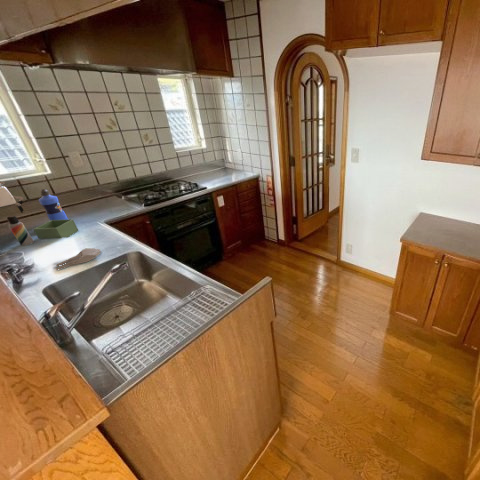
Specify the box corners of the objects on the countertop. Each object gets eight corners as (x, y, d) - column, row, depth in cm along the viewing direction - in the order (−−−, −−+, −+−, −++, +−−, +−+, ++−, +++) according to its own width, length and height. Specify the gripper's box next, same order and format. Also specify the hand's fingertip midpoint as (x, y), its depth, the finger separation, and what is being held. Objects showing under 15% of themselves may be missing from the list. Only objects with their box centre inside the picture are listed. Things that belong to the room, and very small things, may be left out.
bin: (62, 240, 165) (56, 228, 161) (40, 241, 165) (33, 229, 161) (78, 230, 177) (72, 219, 173) (57, 231, 177) (51, 220, 173)
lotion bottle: (21, 246, 159) (2, 216, 149) (34, 242, 163) (15, 213, 153) (23, 249, 156) (4, 218, 146) (36, 245, 160) (18, 215, 150)
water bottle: (50, 227, 183) (30, 192, 171) (55, 221, 191) (37, 188, 179) (66, 224, 187) (48, 190, 175) (71, 219, 194) (54, 186, 182)
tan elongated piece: (59, 267, 142) (53, 261, 139) (101, 249, 152) (96, 243, 149) (59, 275, 135) (53, 268, 133) (104, 256, 146) (98, 249, 143)
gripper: (12, 181, 149) (29, 208, 158) (-34, 189, 137) (-13, 218, 146) (15, 183, 146) (32, 211, 154) (-33, 191, 133) (-11, 222, 142)
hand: (10, 215), depth 150 cm, fingers open, 9 cm apart
